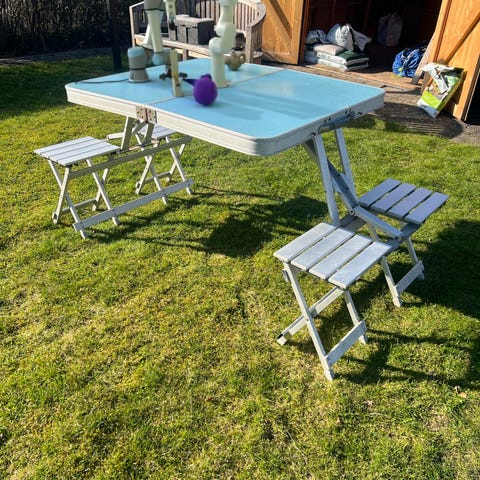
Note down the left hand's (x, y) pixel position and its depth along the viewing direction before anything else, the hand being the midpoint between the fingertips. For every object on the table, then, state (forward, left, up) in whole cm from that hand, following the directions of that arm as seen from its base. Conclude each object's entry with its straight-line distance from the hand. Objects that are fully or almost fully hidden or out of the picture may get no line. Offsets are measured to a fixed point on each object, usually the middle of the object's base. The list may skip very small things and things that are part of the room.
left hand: (174, 78), depth 314 cm
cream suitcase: (-2, -20, -6) cm, 21 cm away
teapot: (+59, +49, -6) cm, 77 cm away
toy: (+8, -51, -6) cm, 52 cm away
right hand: (-2, -18, +33) cm, 37 cm away
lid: (-1, -15, +12) cm, 19 cm away
